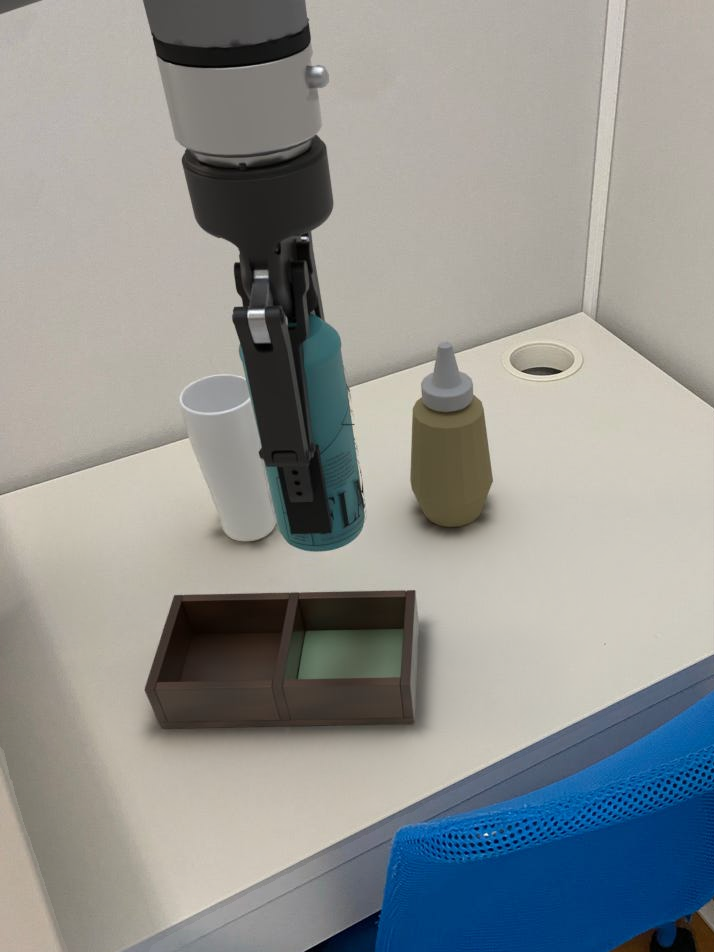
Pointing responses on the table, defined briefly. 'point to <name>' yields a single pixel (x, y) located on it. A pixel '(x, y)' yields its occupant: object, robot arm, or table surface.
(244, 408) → the drinking glass
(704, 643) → the table surface
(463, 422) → the squeeze bottle
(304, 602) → the divided box
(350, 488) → the beverage bottle
